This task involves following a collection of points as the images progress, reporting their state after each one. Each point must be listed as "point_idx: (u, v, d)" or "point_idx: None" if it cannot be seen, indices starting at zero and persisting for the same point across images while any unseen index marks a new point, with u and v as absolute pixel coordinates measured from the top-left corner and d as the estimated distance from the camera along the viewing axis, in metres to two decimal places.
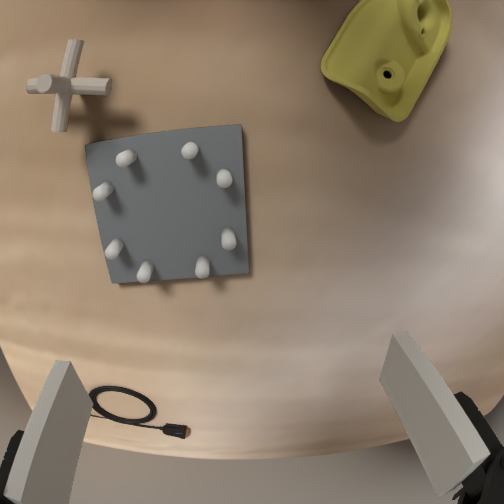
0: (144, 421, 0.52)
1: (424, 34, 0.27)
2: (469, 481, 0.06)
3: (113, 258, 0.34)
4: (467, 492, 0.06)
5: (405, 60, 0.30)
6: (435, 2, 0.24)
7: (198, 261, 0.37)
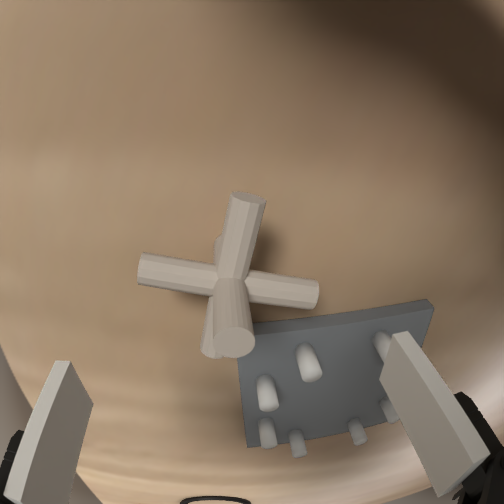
0: None
1: None
2: (469, 481, 0.06)
3: (270, 447, 0.27)
4: (467, 492, 0.06)
5: None
6: None
7: (354, 428, 0.30)
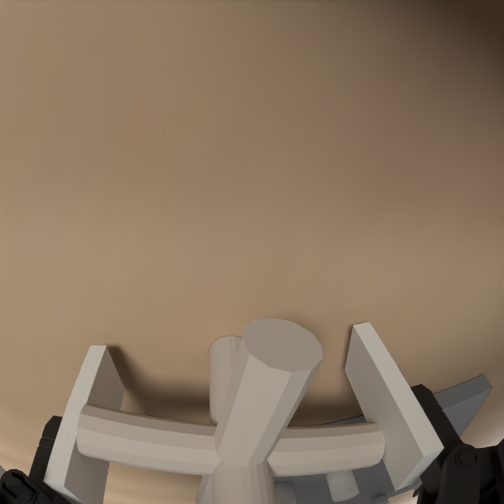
0: None
1: None
2: (425, 479, 0.07)
3: None
4: (426, 489, 0.07)
5: None
6: None
7: None
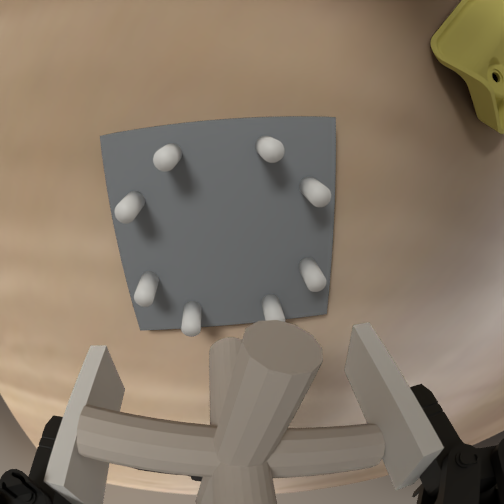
0: None
1: None
2: (425, 479, 0.07)
3: (147, 304, 0.24)
4: (426, 490, 0.07)
5: None
6: None
7: (267, 304, 0.27)
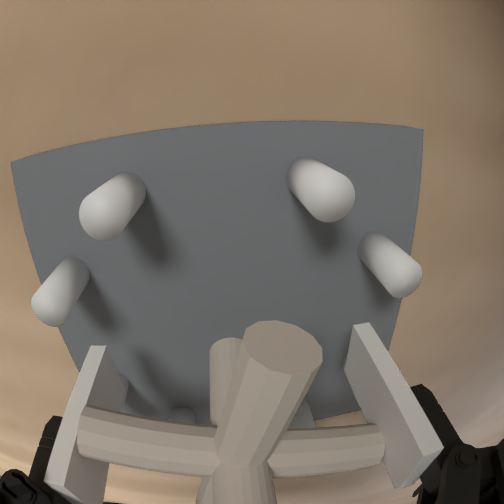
0: None
1: None
2: (425, 479, 0.07)
3: None
4: (426, 490, 0.07)
5: None
6: None
7: None
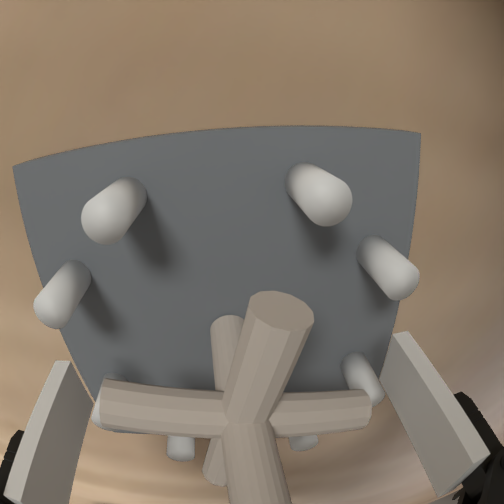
0: None
1: None
2: (469, 481, 0.06)
3: (112, 429, 0.13)
4: (467, 492, 0.06)
5: None
6: None
7: None
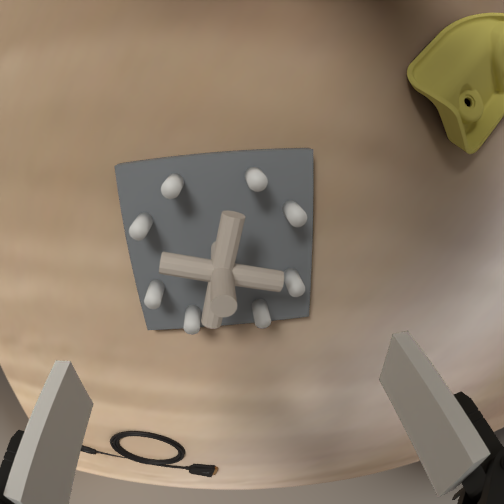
0: (170, 462, 0.47)
1: None
2: (469, 481, 0.06)
3: (155, 307, 0.29)
4: (467, 492, 0.06)
5: (483, 94, 0.26)
6: None
7: (256, 307, 0.32)
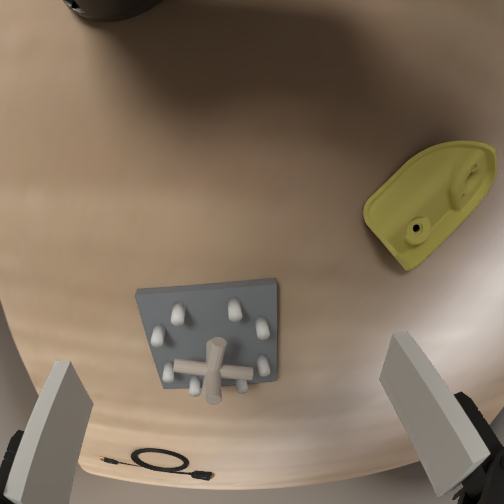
0: (177, 470, 0.60)
1: (462, 197, 0.35)
2: (469, 481, 0.06)
3: (169, 382, 0.41)
4: (467, 492, 0.06)
5: (435, 215, 0.38)
6: (485, 168, 0.32)
7: (238, 379, 0.44)
